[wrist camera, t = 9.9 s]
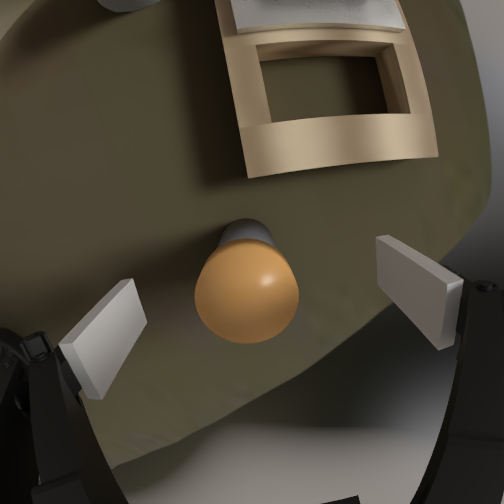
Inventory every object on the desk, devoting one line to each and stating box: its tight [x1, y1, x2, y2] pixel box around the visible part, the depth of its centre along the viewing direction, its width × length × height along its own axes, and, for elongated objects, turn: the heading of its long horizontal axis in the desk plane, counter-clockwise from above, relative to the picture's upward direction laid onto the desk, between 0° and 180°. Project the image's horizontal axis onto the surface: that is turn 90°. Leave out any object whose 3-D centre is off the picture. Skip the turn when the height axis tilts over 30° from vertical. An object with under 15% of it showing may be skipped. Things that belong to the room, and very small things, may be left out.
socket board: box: [214, 0, 438, 178], centre depth 17 cm, size 14×20×4 cm
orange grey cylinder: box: [195, 218, 299, 343], centre depth 18 cm, size 5×5×10 cm
